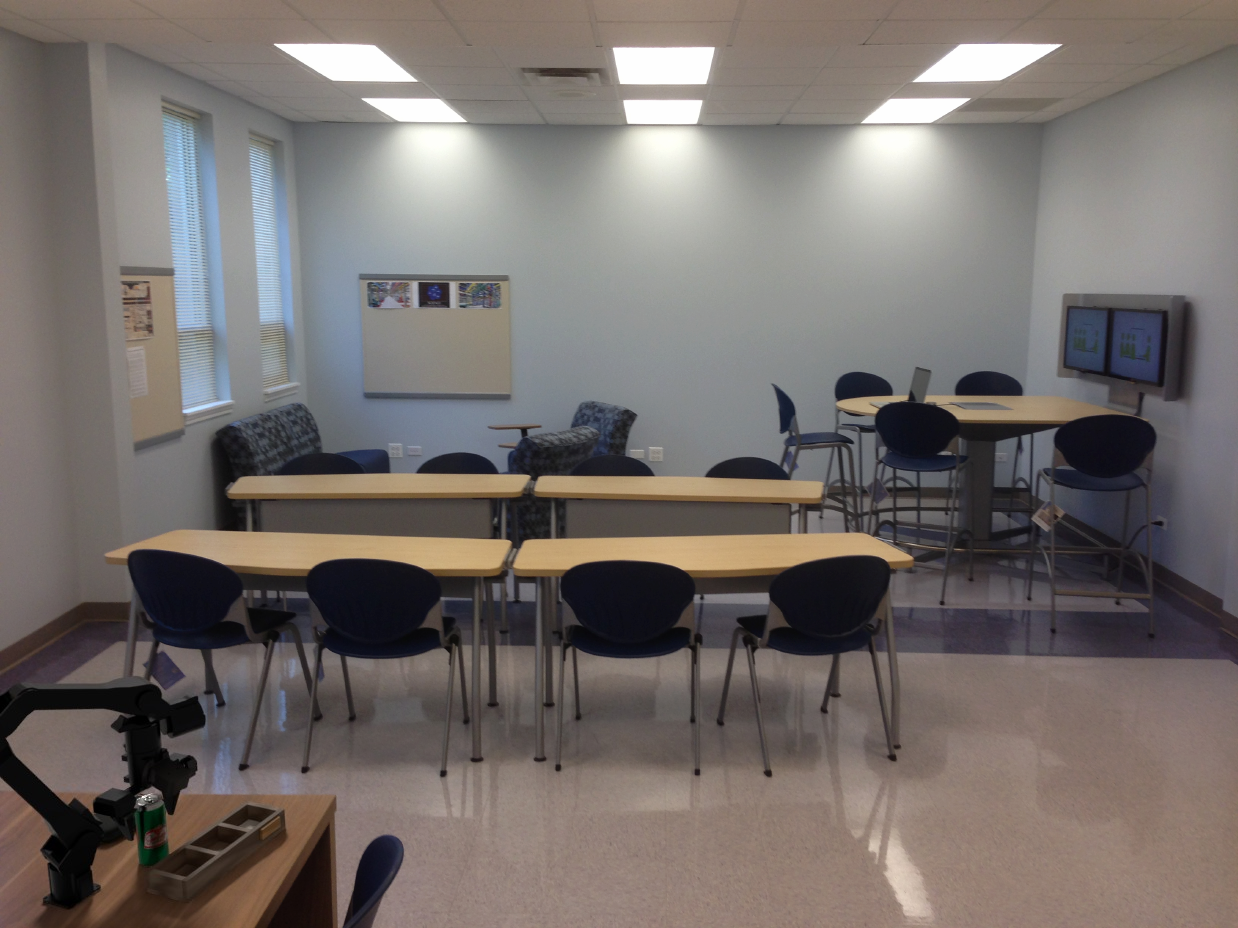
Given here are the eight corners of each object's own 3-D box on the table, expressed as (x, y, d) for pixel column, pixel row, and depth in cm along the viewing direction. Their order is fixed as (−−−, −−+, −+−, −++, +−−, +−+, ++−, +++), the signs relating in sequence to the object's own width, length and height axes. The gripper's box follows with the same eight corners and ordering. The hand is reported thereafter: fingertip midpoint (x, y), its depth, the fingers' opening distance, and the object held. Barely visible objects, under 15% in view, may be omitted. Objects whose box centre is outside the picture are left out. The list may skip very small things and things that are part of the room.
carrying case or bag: (133, 800, 198) (67, 836, 185) (131, 786, 197) (66, 822, 184) (171, 810, 194) (107, 848, 180) (170, 796, 193) (105, 833, 180)
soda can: (147, 871, 173) (141, 809, 171) (133, 861, 176) (127, 800, 174) (174, 858, 177) (169, 797, 175) (160, 849, 180) (155, 789, 178)
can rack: (147, 891, 166) (145, 870, 166) (248, 819, 190) (246, 800, 189) (191, 903, 163) (189, 881, 163) (288, 828, 186) (286, 809, 186)
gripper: (136, 777, 161) (144, 863, 164) (217, 731, 178) (223, 809, 181) (86, 767, 165) (95, 851, 167) (170, 722, 182) (177, 799, 185)
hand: (151, 827), depth 175 cm, fingers open, 9 cm apart
